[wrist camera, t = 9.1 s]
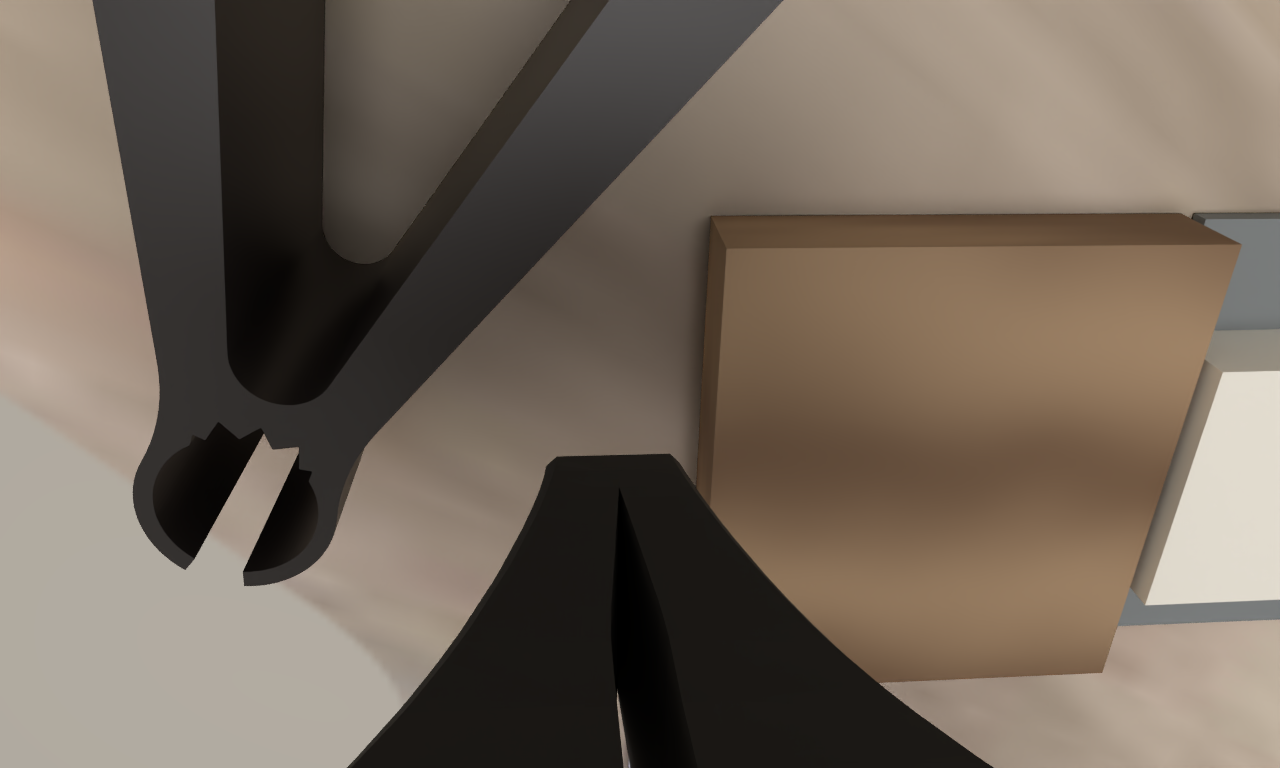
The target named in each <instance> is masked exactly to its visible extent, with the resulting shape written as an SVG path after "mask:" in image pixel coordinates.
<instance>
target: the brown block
mask: <svg viewBox="0 0 1280 768" xmlns="http://www.w3.org/2000/svg"><path fill="white" fill-rule="evenodd" d="M1241 246H1242V244H1240V243H1238V242H1236V241H1234V240H1232V239H1230V238H1228V237H1226V236H1224V235H1222V234H1220V233H1218V232H1216V231H1214V230H1212V229H1210V228H1208V227H1206V226H1204V225H1202V224H1200V223H1198V222H1196V221H1194V220H1193V219H1191V218H1189V217H1187V216H1185V215H1183V214H1010V215H822V216H711V224H710V242H709V261H708V279H707V297H706V316H705V334H704V352H703V370H702V389H701V407H700V425H699V444H698V462H697V480H696V489H697V490H698V491H699V493H700V494H701V496H702V497H703V498H704V500H705V501H706V502H707V504H708V505H709V506H710V508H711V509H712V510H713V512H714V513H715V514H716V516H717V517H718V518H719V520H720V521H721V522H722V523H723V525H724V526H725V527H726V528H727V530H728V531H729V532H730V533H731V535H732V536H733V537H734V538H735V540H736V541H737V542H738V543H739V544H740V545H741V547H742V548H743V549H744V550H745V551H746V552H747V554H748V555H749V556H750V557H751V558H752V560H753V561H754V562H755V563H756V564H757V565H758V567H759V568H760V569H761V570H762V571H763V572H764V574H765V575H766V576H767V577H768V578H769V579H770V580H771V581H772V582H773V583H774V585H775V586H776V587H777V588H778V589H779V590H780V591H781V592H782V593H783V594H784V595H785V596H786V597H787V598H788V599H789V600H790V601H791V603H792V604H793V605H794V606H795V607H796V608H797V609H798V610H799V611H800V612H801V613H802V614H803V615H804V616H805V617H806V618H807V619H808V620H809V621H810V622H811V623H812V624H813V625H814V626H815V627H816V628H817V629H818V630H819V631H820V632H821V633H822V634H823V635H824V636H826V637H827V638H828V639H829V640H830V641H831V642H832V643H833V644H834V645H835V646H836V647H837V648H838V649H839V650H841V651H842V652H843V653H844V654H845V655H846V656H847V657H848V658H849V659H851V660H852V661H853V662H854V663H855V664H857V665H858V666H859V667H860V668H861V669H862V670H864V671H865V672H866V673H867V674H868V675H869V676H871V677H872V678H873V679H874V680H875V681H876V682H878V683H883V682H905V681H928V680H950V679H972V678H995V677H1017V676H1040V675H1062V674H1085V673H1102V671H1103V668H1104V665H1105V662H1106V659H1107V656H1108V653H1109V650H1110V647H1111V644H1112V641H1113V638H1114V635H1115V632H1116V629H1117V626H1118V622H1119V619H1120V616H1121V613H1122V610H1123V607H1124V604H1125V601H1126V598H1127V595H1128V592H1129V589H1130V586H1131V583H1132V580H1133V577H1134V574H1135V570H1136V567H1137V564H1138V561H1139V558H1140V555H1141V552H1142V549H1143V546H1144V543H1145V540H1146V537H1147V534H1148V531H1149V528H1150V525H1151V522H1152V519H1153V515H1154V512H1155V509H1156V506H1157V503H1158V500H1159V497H1160V494H1161V491H1162V488H1163V485H1164V482H1165V479H1166V476H1167V473H1168V470H1169V467H1170V463H1171V460H1172V457H1173V454H1174V451H1175V448H1176V445H1177V442H1178V439H1179V436H1180V433H1181V430H1182V427H1183V424H1184V421H1185V418H1186V415H1187V412H1188V408H1189V405H1190V402H1191V399H1192V396H1193V393H1194V390H1195V387H1196V384H1197V381H1198V378H1199V375H1200V372H1201V369H1202V366H1203V363H1204V360H1205V356H1206V353H1207V350H1208V347H1209V344H1210V341H1211V338H1212V335H1213V332H1214V329H1215V326H1216V323H1217V320H1218V317H1219V314H1220V311H1221V308H1222V305H1223V301H1224V298H1225V295H1226V292H1227V289H1228V286H1229V283H1230V280H1231V277H1232V274H1233V271H1234V268H1235V265H1236V262H1237V259H1238V256H1239V253H1240V249H1241Z"/></svg>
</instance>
